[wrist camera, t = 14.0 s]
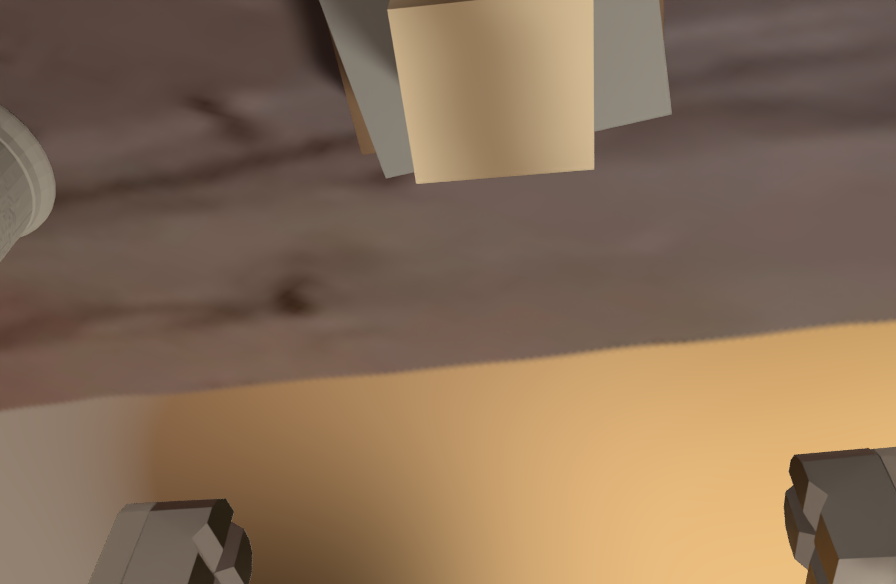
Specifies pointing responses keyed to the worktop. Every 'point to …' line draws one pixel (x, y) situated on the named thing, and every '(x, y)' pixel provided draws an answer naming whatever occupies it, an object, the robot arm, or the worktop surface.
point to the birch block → (495, 86)
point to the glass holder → (22, 182)
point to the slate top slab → (615, 69)
